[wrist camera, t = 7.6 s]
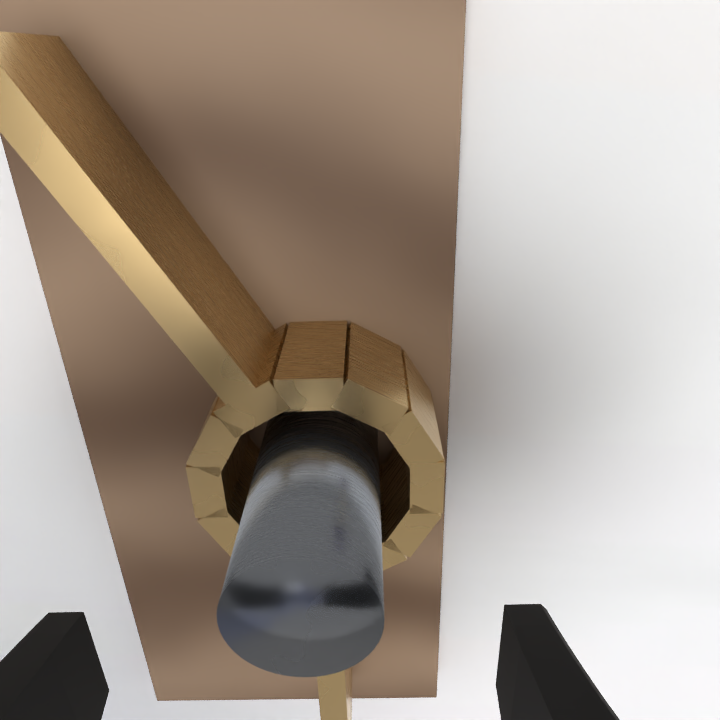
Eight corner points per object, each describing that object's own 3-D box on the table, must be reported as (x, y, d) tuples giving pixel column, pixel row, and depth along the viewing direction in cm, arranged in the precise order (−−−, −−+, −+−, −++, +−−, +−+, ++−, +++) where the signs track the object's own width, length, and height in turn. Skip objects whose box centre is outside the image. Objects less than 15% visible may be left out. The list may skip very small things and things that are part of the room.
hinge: (423, 674, 22) (432, 766, 19) (182, 677, 22) (154, 769, 19) (441, 23, 13) (463, 11, 10) (26, 37, 13) (-70, 30, 10)
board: (433, 672, 23) (436, 697, 22) (165, 676, 24) (157, 700, 23) (460, -27, 13) (467, -33, 12) (-14, -9, 13) (-41, -15, 12)
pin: (378, 458, 18) (385, 676, 11) (276, 460, 18) (228, 678, 11) (375, 366, 16) (383, 556, 10) (266, 370, 16) (204, 560, 10)
